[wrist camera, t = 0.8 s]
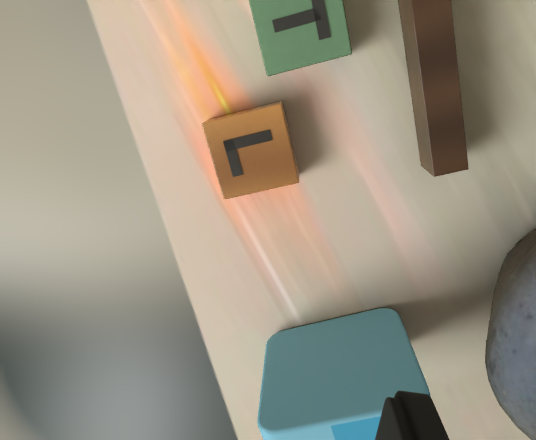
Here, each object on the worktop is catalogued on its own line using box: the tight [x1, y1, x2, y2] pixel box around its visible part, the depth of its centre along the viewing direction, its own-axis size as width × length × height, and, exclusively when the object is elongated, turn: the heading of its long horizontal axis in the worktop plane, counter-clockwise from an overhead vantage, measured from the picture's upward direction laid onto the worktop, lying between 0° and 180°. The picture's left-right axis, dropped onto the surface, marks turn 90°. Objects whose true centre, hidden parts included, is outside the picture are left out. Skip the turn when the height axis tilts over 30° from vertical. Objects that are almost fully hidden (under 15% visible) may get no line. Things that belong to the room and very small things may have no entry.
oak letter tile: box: [202, 101, 299, 199], centre depth 33 cm, size 6×6×3 cm
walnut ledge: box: [398, 0, 468, 177], centre depth 30 cm, size 16×2×4 cm, turn 14°
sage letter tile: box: [249, 0, 352, 76], centre depth 30 cm, size 6×6×3 cm
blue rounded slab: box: [258, 308, 430, 440], centre depth 35 cm, size 12×4×12 cm, turn 107°
